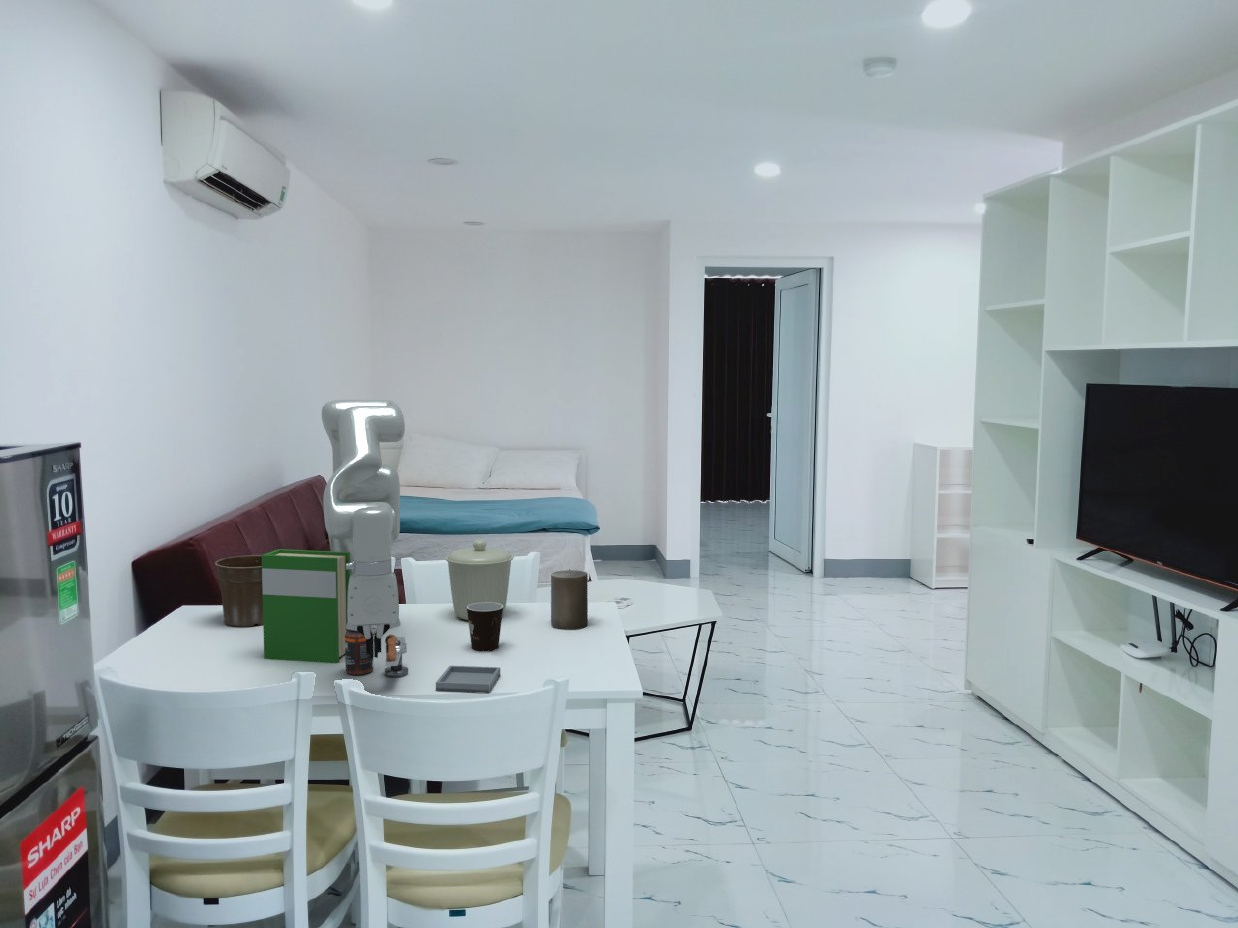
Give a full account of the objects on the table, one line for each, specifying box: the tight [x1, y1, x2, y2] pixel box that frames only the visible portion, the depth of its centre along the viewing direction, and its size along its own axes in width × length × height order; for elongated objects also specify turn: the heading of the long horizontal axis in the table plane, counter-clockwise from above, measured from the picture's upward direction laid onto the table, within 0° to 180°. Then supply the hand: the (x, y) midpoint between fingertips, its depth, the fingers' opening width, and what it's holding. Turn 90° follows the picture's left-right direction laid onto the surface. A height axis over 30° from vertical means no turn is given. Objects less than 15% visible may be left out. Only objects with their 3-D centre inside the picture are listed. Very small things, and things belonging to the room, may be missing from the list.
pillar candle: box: [550, 568, 589, 630], centre depth 243 cm, size 10×10×15 cm
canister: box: [444, 538, 515, 621], centre depth 250 cm, size 18×18×21 cm
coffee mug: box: [467, 602, 504, 653], centre depth 221 cm, size 12×9×10 cm
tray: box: [435, 665, 501, 694], centre depth 197 cm, size 11×11×2 cm
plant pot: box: [214, 554, 263, 628], centre depth 242 cm, size 16×16×16 cm
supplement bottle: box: [344, 630, 375, 676], centre depth 203 cm, size 6×6×11 cm
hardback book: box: [261, 548, 350, 664], centre depth 213 cm, size 18×7×24 cm, turn 81°
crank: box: [384, 634, 408, 667], centre depth 200 cm, size 18×4×7 cm, turn 8°
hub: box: [384, 654, 409, 679], centre depth 202 cm, size 5×5×5 cm
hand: (373, 655), depth 191 cm, fingers closed
